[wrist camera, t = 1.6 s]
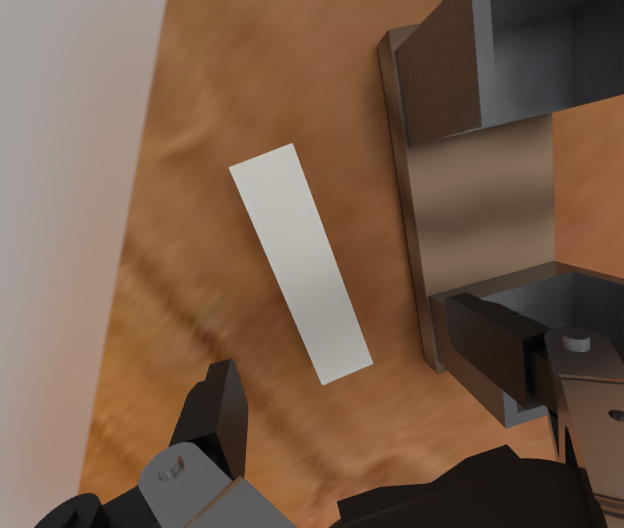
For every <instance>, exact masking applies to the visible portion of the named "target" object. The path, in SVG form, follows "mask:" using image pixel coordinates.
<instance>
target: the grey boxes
mask: <svg viewBox="0 0 624 528" xmlns="http://www.w3.org/2000/svg"><path fill="white" fill-rule="evenodd" d="M395 57H396V64H397V71H398V78H399V86H400V93H401V100H402V107H403V114H404V121H405V129H406V136H407V143H408V147H410V146H414V145H419V144H423V143H427V142H431V141H436V140H440V139H444V138H448V137H452V136H457V135H461V134H465V133H469V132H474V131H478V130H482V129H486V128H491V127H495V126H499V125H503V124H507V123H512V122H516V121H520V120H524V119H529V118H533V117H537V116H541V115H545V114H550V113H554V112H557V111H561V110H565V109H569V108H573V107H577V106H581V105H584V104H588V103H592V102H596V101H600V100H604V99H608V98H611V97H615V96H619V95H623V94H624V0H443V1H442V2H441V3H440V5H439V6H438V7H437V8H436V9H435V10H434V11H433V12H432V13H431V14H430V15H429V16H428V17H427V18H426V19H425V20H424V21H423V22H422V23H421V24H420V25H419V26H418V27H417V28H416V29H415V31H414V32H413V33H412V34H411V35H410V36H409V37H408V38H407V39H406V40H405V41H404V42H403V43H402V44H401V45H400V46H399V47H398V48H397V49H396V50H395ZM463 292H468V293H470V294H472V295H474V296H476V297H478V298H480V299H482V300H486V301H490V302H495V303H499V304H501V305H503V306H506V307H508V308H510V309H511V310H512V311H513V310H514V311H516V312H518V313H520V314H521V315H522V316H523V315H524V316H526V317H528V318H531V319H533V320H535V321H537V322H539V323H541V324H543V325H545V326H547V327H549V328H551V329H555V328H560V327H578V328H584V329H589V330H593V331H596V332H598V333H600V334H602V335H604V336H606V337H607V338H608V339H609V340H610V341H611V340H623V339H624V279H623V278H619V277H615V276H611V275H607V274H603V273H599V272H595V271H591V270H587V269H583V268H579V267H575V266H572V265H568V264H564V263H560V262H556V261H551V262H547V263H544V264H540V265H537V266H533V267H530V268H526V269H522V270H519V271H515V272H512V273H508V274H505V275H501V276H498V277H494V278H490V279H487V280H483V281H480V282H476V283H473V284H469V285H466V286H462V287H459V288H455V289H451V290H448V291H444V292H441V293H437V294H434V295H430V296H429V301H430V308H431V315H432V322H433V329H434V337H435V344H436V351H437V358H438V362H439V363H440V364H441V365H442V366H443V367H444V368H445V369H446V370H448V371H449V372H450V373H451V374H452V375H453V376H454V377H455V378H456V379H457V380H458V381H459V382H460V383H461V384H462V385H463V386H464V387H465V388H466V389H467V390H468V391H469V392H470V393H471V394H472V395H473V396H474V397H475V398H476V399H477V400H478V401H479V402H480V403H481V404H482V405H483V406H484V407H485V408H486V409H487V410H488V411H489V412H490V413H491V414H492V415H493V416H494V417H495V418H496V419H497V420H498V421H499V422H500V423H501V424H502V425H503V426H504V427H505V428H509V427H512V426H515V425H518V424H521V423H524V422H527V421H530V420H533V419H536V418H540V417H543V416H546V415H548V409H547V407H546V406H544V405H543V406H540V407H536V408H533V409H530V410H526V409H525V408H523V407H522V406H521V405H520V404H519V403H517V402H516V401H515V400H514V399H513V398H511V397H510V396H509V395H508V394H507V393H505V392H504V391H503V390H502V389H501V388H499V387H498V386H497V385H496V384H495V383H493V382H492V381H491V380H490V379H489V378H487V377H486V376H485V375H484V374H483V373H481V372H480V371H479V370H478V369H477V368H475V367H474V366H473V365H472V364H471V363H469V362H468V361H467V360H466V359H465V358H464V357H462V356H461V355H460V354H459V353H458V352H456V351H455V349H454V348H453V346H452V345H451V343H450V340H449V337H448V330H447V323H446V315H445V307H444V300H445V298H446V297H449V296H453V295H456V294H460V293H463Z"/></svg>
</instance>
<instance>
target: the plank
mask: <svg viewBox="0 0 624 528" xmlns="http://www.w3.org/2000/svg"><path fill="white" fill-rule="evenodd" d="M419 25H420V24H416V25H411V26H406V27H401V28H396V29H391V30H388V31H387V33H386V34H385V35H384V36H383V38H382V39H381V40H380V42H379V43H378V44H377V45H378V52H379V58H380V65H381V71H382V78H383V85H384V91H385V98H386V104H387V111H388V118H389V124H390V131H391V137H392V144H393V151H394V157H395V164H396V170H397V177H398V184H399V190H400V197H401V203H402V210H403V217H404V223H405V230H406V236H407V243H408V250H409V256H410V263H411V269H412V276H413V283H414V289H415V296H416V302H417V309H418V316H419V322H420V329H421V335H422V342H423V349H424V355H425V361H426V362H427V364H428V365H429V366H430V367H431V368H432V369H433V370H434V371H435V372H436V373H437V374H440V373H443V372H446V371H448V370H446V369H445V368H444V367H443V366H442V365H441V364H440V363H439V362H438V358H437V351H436V344H435V337H434V329H433V322H432V315H431V308H430V301H429V296H430V295H434V294H437V293H441V292H444V291H448V290H451V289H455V288H459V287H462V286H466V285H469V284H473V283H476V282H480V281H483V280H487V279H490V278H494V277H498V276H501V275H505V274H508V273H512V272H515V271H519V270H522V269H526V268H530V267H533V266H537V265H540V264H544V263H547V262H551V261H555V224H554V182H553V140H552V113H550V114H545V115H541V116H537V117H533V118H529V119H524V120H520V121H516V122H512V123H507V124H503V125H499V126H495V127H491V128H486V129H482V130H478V131H474V132H469V133H465V134H461V135H457V136H452V137H448V138H444V139H440V140H436V141H431V142H427V143H423V144H419V145H414V146H410V147H408V143H407V136H406V129H405V121H404V114H403V107H402V100H401V93H400V86H399V78H398V71H397V64H396V57H395V50H396V49H397V48H398V47H399V46H400V45H401V44H402V43H403V42H404V41H405V40H406V39H407V38H408V37H409V36H410V35H411V34H412V33H413V32H414V31H415V29H416V28H417V27H418V26H419Z"/></svg>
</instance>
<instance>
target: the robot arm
mask: <svg viewBox="0 0 624 528" xmlns="http://www.w3.org/2000/svg"><path fill="white" fill-rule="evenodd" d="M444 307H445V315H446V323H447V330H448V337H449V340H450V343H451V345H452V346H453V348H454V349H455V351H456V352H458V353H459V354H460V355H461V356H462V357H464V358H465V359H466V360H467V361H468V362H469V363H471V364H472V365H473V366H474V367H475V368H477V369H478V370H479V371H480V372H481V373H483V374H484V375H485V376H486V377H487V378H489V379H490V380H491V381H492V382H493V383H495V384H496V385H497V386H498V387H499V388H501V389H502V390H503V391H504V392H505V393H507V394H508V395H509V396H510V397H511V398H513V399H514V400H515V401H516V402H517V403H519V404H520V405H521V406H522V407H523V408H525V409H526V410H530V409H533V408H536V407H540V406H543V405H544V406H546V407H547V409H548V422H549V427H550V432H551V437H552V442H553V447H554V451H555V456H556V461H557V462H555V461H551V460H544V459H531V458H522V459H520V458H519V457H518V456H517V455H516V453H515V452H514V451H513V450H512V449H511V448H510V447H509V446H508V445H507V444H506V445H504V446H501V447H498V448H495V449H492V450H489V451H486V452H483V453H480V454H477V455H474V456H471V457H468V458H466V459H464V460H463V461H462V462H460V463H459V464H457V465H456V466H454V467H453V468H452V469H450V470H449V471H447V472H446V473H444V474H443V475H442V476H440V477H439V478H437V479H436V480H434V481H433V482H430V483H426V484H414V485H401V486H387V487H379V488H376V489H373V490H370V491H367V492H364V493H361V494H358V495H355V496H352V497H349V498H346V499H343V500H340V501H337V504H338V508H339V512H340V516H341V519H339V520H338V521H337V522H335V523H334V524H332V525H331V526H330V527H329V528H624V339H623V340H611V341H610V340H609V339H608V338H607V337H606V336H604V335H602V334H600V333H598V332H596V331H593V330H589V329H584V328H578V327H560V328H555V329H551V328H549V327H547V326H545V325H543V324H541V323H539V322H537V321H535V320H533V319H531V318H528V317H526V316H524V315H523V316H522V315H521V314H520V313H518V312H516V311H514V310H513V311H512V310H511V309H510V308H508V307H506V306H503V305H501V304H499V303H495V302H490V301H486V300H482V299H480V298H478V297H476V296H474V295H472V294H470V293H468V292H463V293H460V294H456V295H453V296H449V297H446V298H445V300H444ZM180 415H181V417H179V420H178V422H177V425H176V428H175V430H174V433H173V436H172V438H171V441H170V444H169V447H168V448H167V449H165V450H163V451H162V452H160V453H159V454H158V455H156V456H155V457H154V458H153V459H152V460H151V461H150V462H149V463H148V464H147V465H146V467H145V468H144V469H143V471H142V473H141V475H140V478H139V482H138V485H137V486H136V487H134V488H133V489H131V490H129V491H127V492H126V493H124V494H122V495H120V496H118V497H117V498H115V499H113V500H111V501H109V502H108V503H106V504H104V505H102V504H101V502H100V500H99V498H98V496H96V495H95V494H93V493H86V494H81V495H78V496H75V497H73V498H71V499H69V500H67V501H65V502H64V503H62V504H60V505H59V506H58V507H56V508H55V509H54V510H52V511H51V512H50V513H49V514H47V515H46V516H45V517H44V518H43V519H42V520H41V521H40V522H39V523H38V524H37V525H36V526H35V527H34V528H297V527H296V526H295V525H294V524H293V523H292V522H291V521H290V520H289V519H288V518H286V517H285V516H284V515H283V514H282V513H281V512H280V511H279V510H278V509H277V508H276V507H275V506H274V505H272V504H271V503H270V502H269V501H268V500H267V499H266V498H265V497H264V496H263V495H262V494H261V493H260V492H258V491H257V490H256V489H255V488H254V487H253V486H252V485H251V484H250V483H249V482H248V481H247V480H245V479H244V474H245V459H246V443H247V428H248V404H247V399H246V395H245V392H244V389H243V386H242V383H241V380H240V377H239V374H238V371H237V368H236V365H235V363H234V360H233V359H232V358H230V359H227V360H223V361H220V362H216V363H213V364H210V366H209V369H208V373H207V376H206V379H205V381H202V382H198V383H197V384H196V385H195V386H194V387H193V389H192V390H191V391H190V392H189V393H188V395H187V398H186V401H185V403H184V407H183V409H182V411H181V414H180Z"/></svg>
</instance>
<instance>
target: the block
mask: <svg viewBox="0 0 624 528" xmlns="http://www.w3.org/2000/svg"><path fill="white" fill-rule="evenodd" d="M229 169H230V172H231V174H232V176H233V179H234V181H235V183H236V186H237V188H238V190H239V193H240V195H241V197H242V200H243V202H244V204H245V207H246V209H247V211H248V214H249V216H250V218H251V221H252V223H253V225H254V228H255V230H256V232H257V235H258V237H259V239H260V242H261V244H262V246H263V249H264V251H265V253H266V256H267V258H268V260H269V263H270V265H271V267H272V270H273V272H274V274H275V277H276V279H277V281H278V284H279V286H280V288H281V291H282V293H283V295H284V298H285V300H286V302H287V305H288V307H289V309H290V312H291V314H292V316H293V319H294V321H295V323H296V326H297V328H298V330H299V333H300V335H301V337H302V340H303V342H304V344H305V347H306V349H307V351H308V354H309V356H310V358H311V361H312V363H313V365H314V368H315V370H316V372H317V375H318V377H319V379H320V382H321V384H322V385H325V384H327V383H329V382H332V381H334V380H336V379H339V378H341V377H343V376H346V375H348V374H350V373H353V372H355V371H357V370H360V369H362V368H364V367H367V366H369V365H372V364H373V362H372V359H371V356H370V354H369V351H368V348H367V345H366V343H365V340H364V337H363V335H362V332H361V329H360V326H359V324H358V321H357V318H356V315H355V313H354V310H353V307H352V304H351V302H350V299H349V296H348V293H347V291H346V288H345V285H344V283H343V280H342V277H341V274H340V272H339V269H338V266H337V263H336V261H335V258H334V255H333V252H332V250H331V247H330V244H329V241H328V239H327V236H326V233H325V231H324V228H323V225H322V222H321V220H320V217H319V214H318V211H317V209H316V206H315V203H314V200H313V198H312V195H311V192H310V189H309V187H308V184H307V181H306V179H305V176H304V173H303V170H302V168H301V165H300V162H299V159H298V157H297V154H296V151H295V148H294V146H293V143H291V144H289V145H286V146H283V147H281V148H278V149H275V150H273V151H270V152H268V153H265V154H262V155H260V156H257V157H255V158H252V159H249V160H247V161H244V162H242V163H239V164H236V165H234V166H231V167H229Z"/></svg>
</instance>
